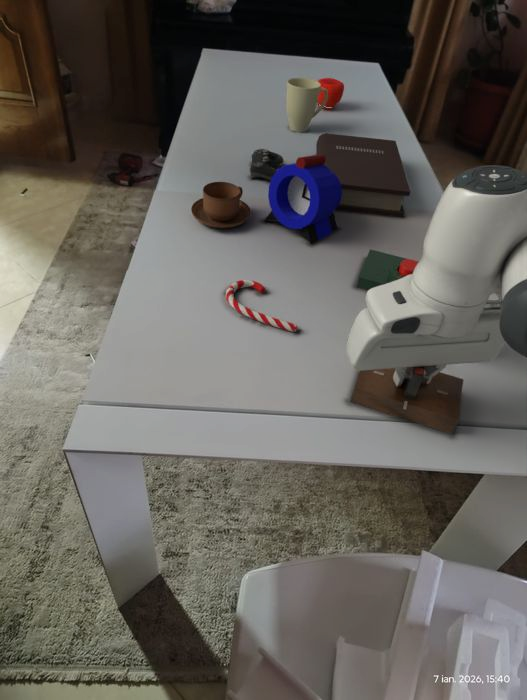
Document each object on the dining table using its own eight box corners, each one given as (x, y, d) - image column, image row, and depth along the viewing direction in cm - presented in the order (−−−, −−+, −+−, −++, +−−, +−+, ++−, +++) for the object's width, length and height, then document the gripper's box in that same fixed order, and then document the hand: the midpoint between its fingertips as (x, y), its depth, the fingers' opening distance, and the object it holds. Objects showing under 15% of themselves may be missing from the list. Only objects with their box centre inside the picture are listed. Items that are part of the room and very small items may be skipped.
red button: (420, 270, 89) (423, 262, 88) (417, 281, 87) (420, 273, 86) (400, 265, 90) (402, 256, 89) (397, 276, 88) (399, 267, 86)
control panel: (456, 387, 74) (464, 373, 72) (450, 440, 67) (459, 425, 65) (363, 359, 77) (367, 344, 75) (348, 407, 70) (352, 392, 68)
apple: (345, 112, 156) (350, 85, 151) (319, 113, 154) (323, 85, 149) (333, 102, 162) (338, 75, 157) (308, 103, 160) (311, 76, 155)
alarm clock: (262, 222, 104) (268, 149, 94) (298, 203, 111) (308, 134, 101) (309, 246, 99) (321, 172, 89) (344, 224, 106) (359, 154, 96)
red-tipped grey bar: (406, 367, 72) (415, 342, 69) (416, 369, 72) (426, 345, 69) (403, 397, 68) (413, 372, 65) (413, 399, 68) (424, 375, 64)
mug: (310, 138, 139) (316, 91, 131) (277, 130, 142) (281, 83, 133) (324, 126, 146) (331, 81, 138) (292, 118, 149) (297, 73, 141)
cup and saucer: (207, 199, 110) (207, 171, 105) (258, 212, 107) (260, 184, 103) (181, 224, 101) (180, 195, 97) (236, 239, 99) (237, 210, 94)
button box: (429, 275, 95) (436, 257, 92) (423, 306, 88) (430, 287, 85) (367, 258, 97) (372, 240, 95) (356, 287, 90) (360, 269, 87)
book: (314, 155, 131) (318, 132, 127) (389, 163, 131) (395, 140, 127) (314, 207, 110) (318, 181, 106) (403, 217, 110) (410, 191, 106)
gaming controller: (283, 183, 117) (280, 162, 114) (251, 187, 118) (247, 167, 115) (283, 161, 126) (281, 141, 122) (254, 166, 127) (250, 146, 123)
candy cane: (283, 336, 77) (214, 292, 84) (283, 342, 78) (214, 298, 85) (314, 313, 82) (246, 273, 88) (313, 319, 83) (245, 279, 89)
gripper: (507, 283, 64) (468, 360, 74) (354, 290, 61) (334, 370, 70) (534, 315, 60) (489, 393, 69) (371, 324, 56) (347, 405, 66)
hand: (410, 381), depth 70 cm, fingers closed on red-tipped grey bar, 2 cm apart
